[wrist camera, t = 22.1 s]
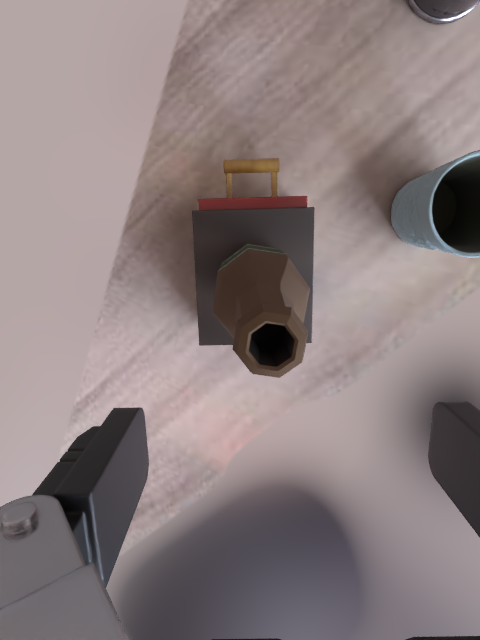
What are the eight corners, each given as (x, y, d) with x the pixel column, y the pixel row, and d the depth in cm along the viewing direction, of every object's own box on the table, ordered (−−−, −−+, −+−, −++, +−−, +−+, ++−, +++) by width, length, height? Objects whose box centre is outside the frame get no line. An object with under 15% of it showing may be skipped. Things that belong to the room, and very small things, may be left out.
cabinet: (201, 213, 49) (192, 210, 40) (300, 210, 49) (314, 207, 39) (207, 324, 52) (199, 345, 43) (299, 322, 52) (311, 343, 43)
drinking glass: (371, 234, 49) (411, 236, 38) (406, 154, 47) (460, 131, 35) (442, 261, 50) (502, 272, 38) (479, 184, 48) (556, 171, 36)
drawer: (203, 167, 47) (196, 155, 39) (297, 164, 47) (307, 152, 39) (210, 309, 51) (204, 323, 43) (296, 307, 51) (305, 321, 43)
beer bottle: (206, 290, 41) (158, 373, 18) (243, 227, 40) (243, 228, 17) (267, 326, 42) (296, 448, 19) (305, 265, 41) (389, 318, 17)
